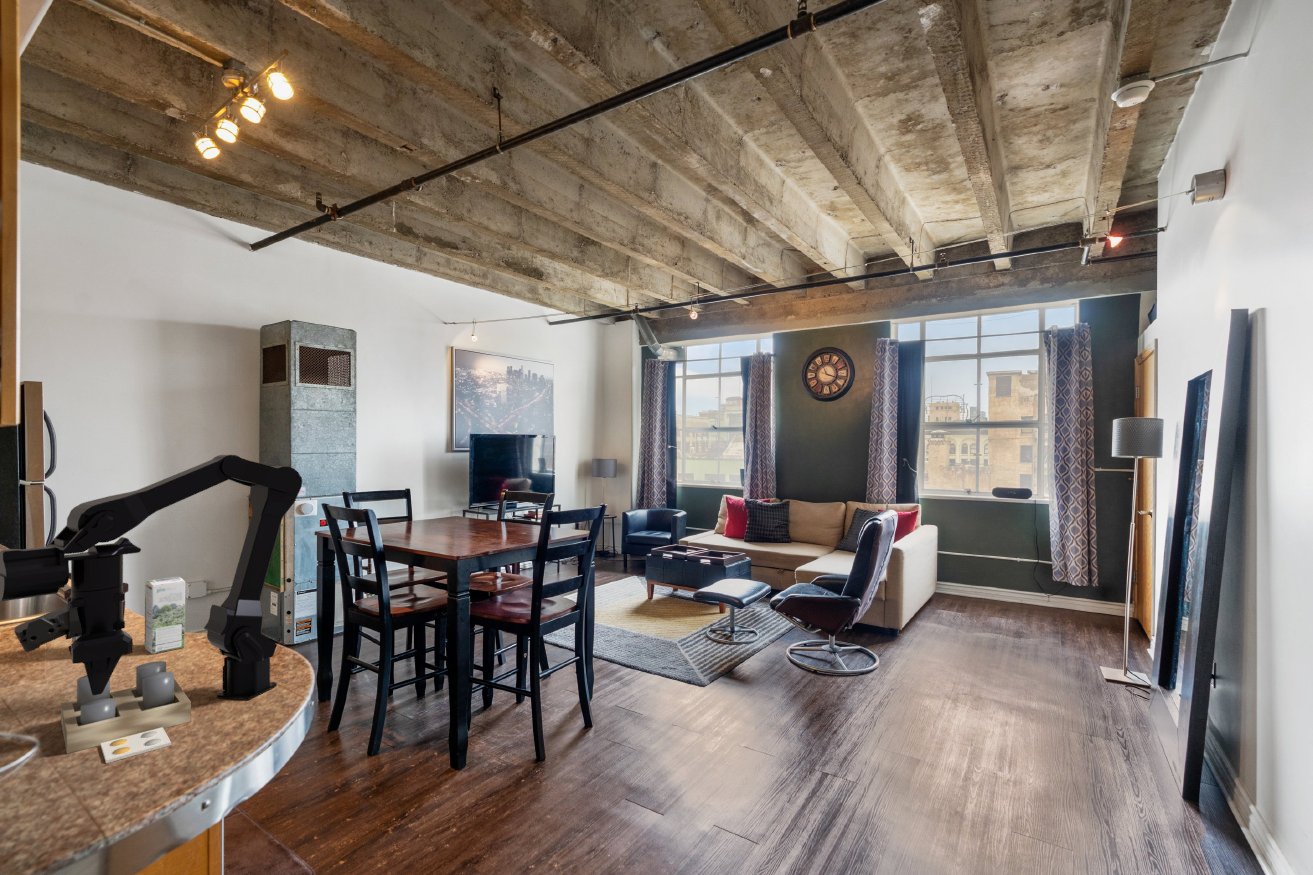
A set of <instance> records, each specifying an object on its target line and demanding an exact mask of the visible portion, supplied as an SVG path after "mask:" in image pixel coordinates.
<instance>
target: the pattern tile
mask: <svg viewBox="0 0 1313 875" xmlns="http://www.w3.org/2000/svg"><path fill="white" fill-rule="evenodd" d="M170 746H172V741H171V740H170V738H169V736H168V734H167V732H166V730H165V728H163V727H161V728H157V729H154V730H150V731H146V732H142V733H138V734H134V735H131V736H127V737H123V738H119V739H115V740H111V741H108V742H104V743H101V745H100V749H101V751H102V755H103V759H104V761H105V764H109V763H112V762H116V761H119V760H122V759H126V758H127V759H128V758H130V757H133V756H134V757H135V756H137V755H141V754H144V753H148V752H152V751H156V750H159V749H163V748H166V747H170Z"/></svg>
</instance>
